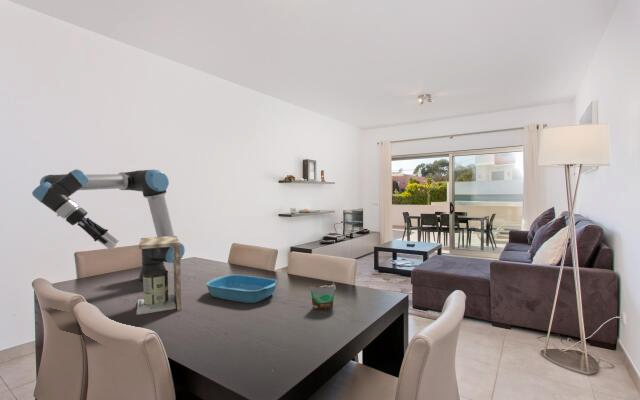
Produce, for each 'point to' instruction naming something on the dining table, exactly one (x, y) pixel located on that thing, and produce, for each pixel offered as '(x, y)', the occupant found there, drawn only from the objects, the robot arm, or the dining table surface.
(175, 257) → the shelf hood
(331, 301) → the food container
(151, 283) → the coffee can
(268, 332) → the dining table surface
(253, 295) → the casserole dish
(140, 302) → the seat plate
